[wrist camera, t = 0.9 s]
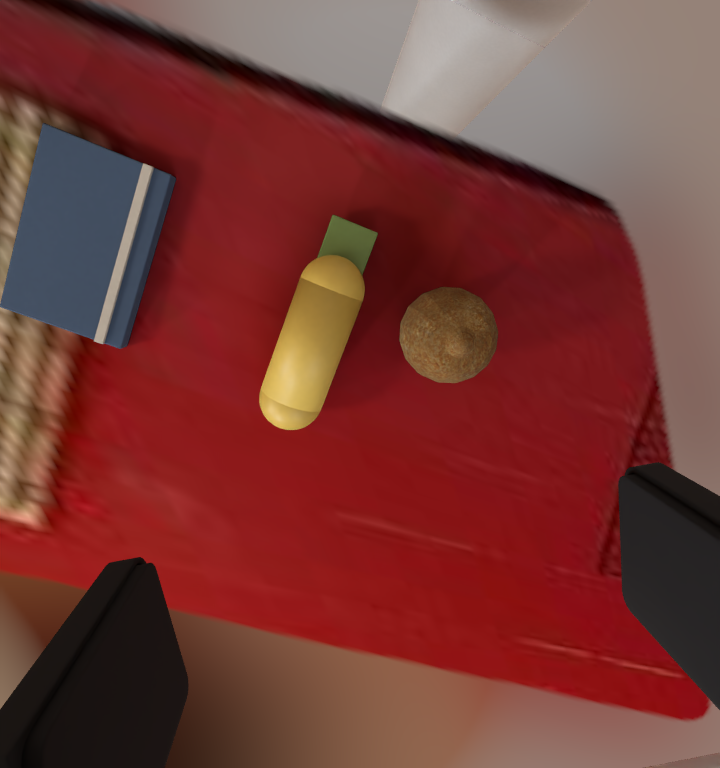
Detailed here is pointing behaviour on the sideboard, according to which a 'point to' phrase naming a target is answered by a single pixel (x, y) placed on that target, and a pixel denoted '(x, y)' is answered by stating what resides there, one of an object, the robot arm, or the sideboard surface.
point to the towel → (86, 238)
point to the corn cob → (317, 327)
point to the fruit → (448, 335)
